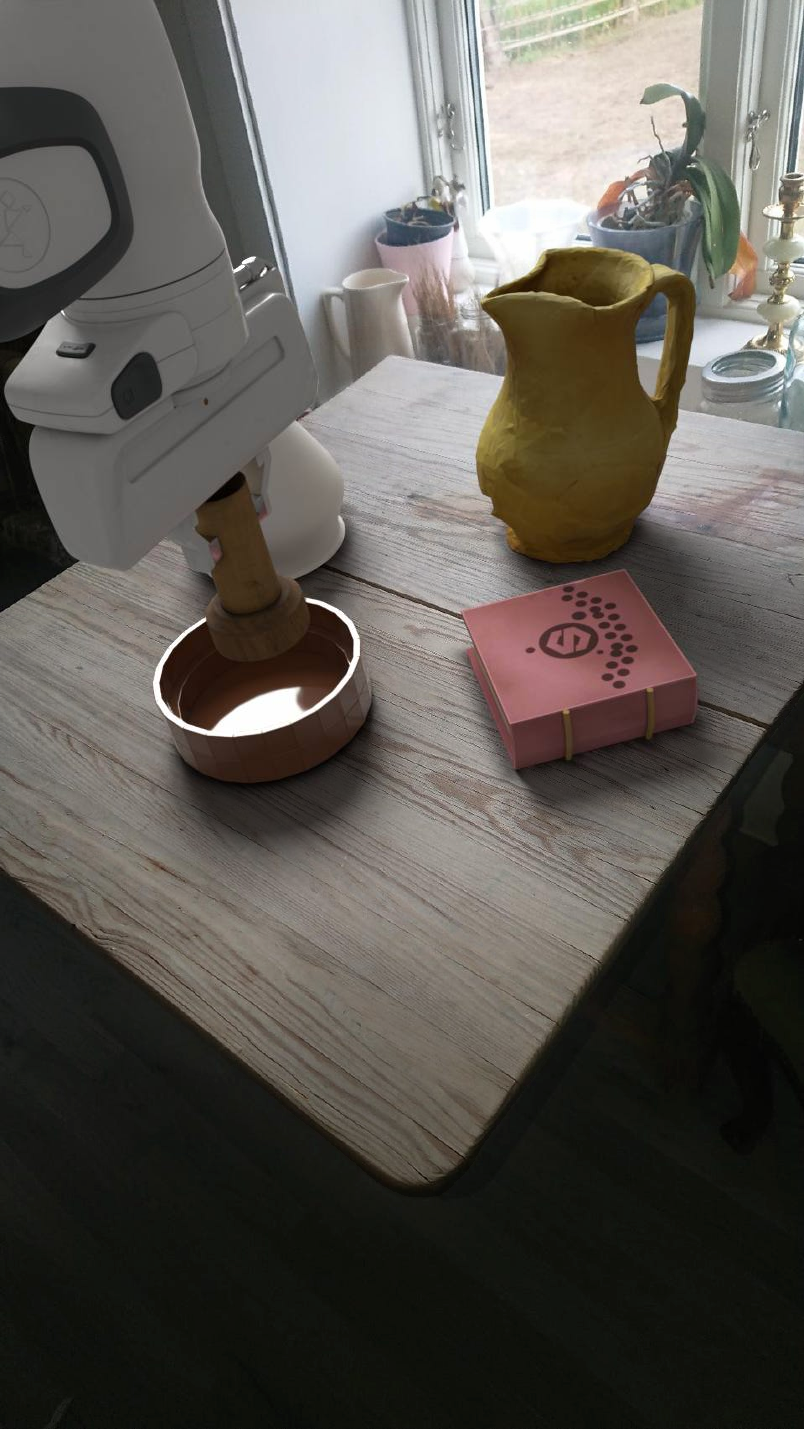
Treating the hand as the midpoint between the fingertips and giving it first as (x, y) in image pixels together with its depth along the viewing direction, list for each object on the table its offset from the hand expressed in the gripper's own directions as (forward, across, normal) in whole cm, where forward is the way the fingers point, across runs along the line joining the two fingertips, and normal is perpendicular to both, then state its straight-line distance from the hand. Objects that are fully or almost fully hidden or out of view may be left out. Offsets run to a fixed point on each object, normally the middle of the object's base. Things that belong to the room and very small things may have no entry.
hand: (232, 541), depth 60 cm
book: (+24, -18, +15) cm, 33 cm away
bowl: (+24, -6, -8) cm, 26 cm away
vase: (+24, -28, -24) cm, 44 cm away
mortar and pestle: (+7, 0, 0) cm, 7 cm away
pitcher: (+24, -39, +6) cm, 47 cm away
